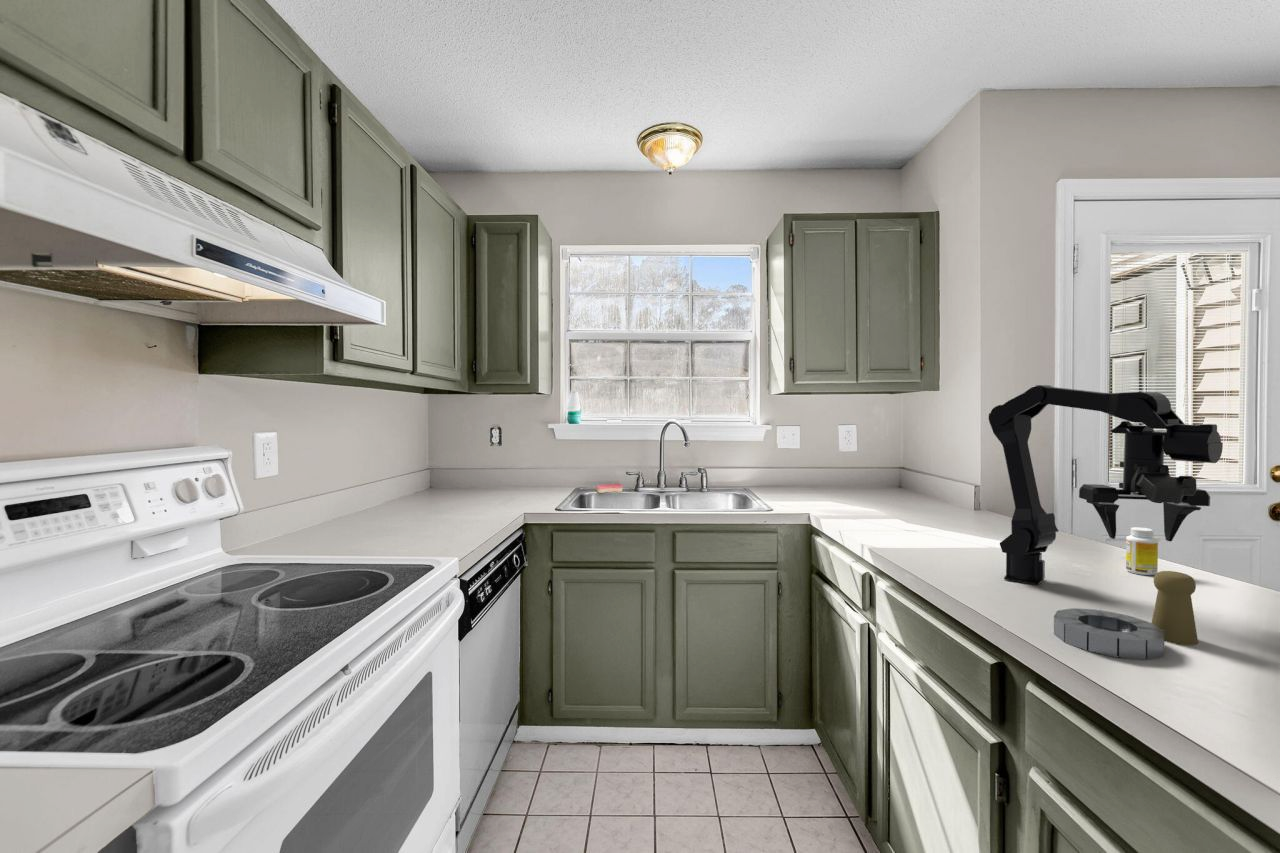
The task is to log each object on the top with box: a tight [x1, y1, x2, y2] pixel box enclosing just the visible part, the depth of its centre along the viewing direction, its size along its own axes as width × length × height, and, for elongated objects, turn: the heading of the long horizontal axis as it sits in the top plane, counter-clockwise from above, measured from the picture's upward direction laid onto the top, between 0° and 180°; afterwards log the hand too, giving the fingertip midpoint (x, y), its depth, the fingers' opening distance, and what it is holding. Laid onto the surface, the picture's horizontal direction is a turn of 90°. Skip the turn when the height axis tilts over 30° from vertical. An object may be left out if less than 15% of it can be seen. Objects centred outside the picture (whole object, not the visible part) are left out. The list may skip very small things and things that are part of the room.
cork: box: [1151, 570, 1199, 646], centre depth 97 cm, size 6×6×11 cm
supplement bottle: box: [1125, 526, 1159, 576], centre depth 135 cm, size 6×6×10 cm
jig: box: [1053, 607, 1165, 661], centre depth 96 cm, size 14×14×3 cm
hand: (1140, 539), depth 111 cm, fingers open, 9 cm apart
